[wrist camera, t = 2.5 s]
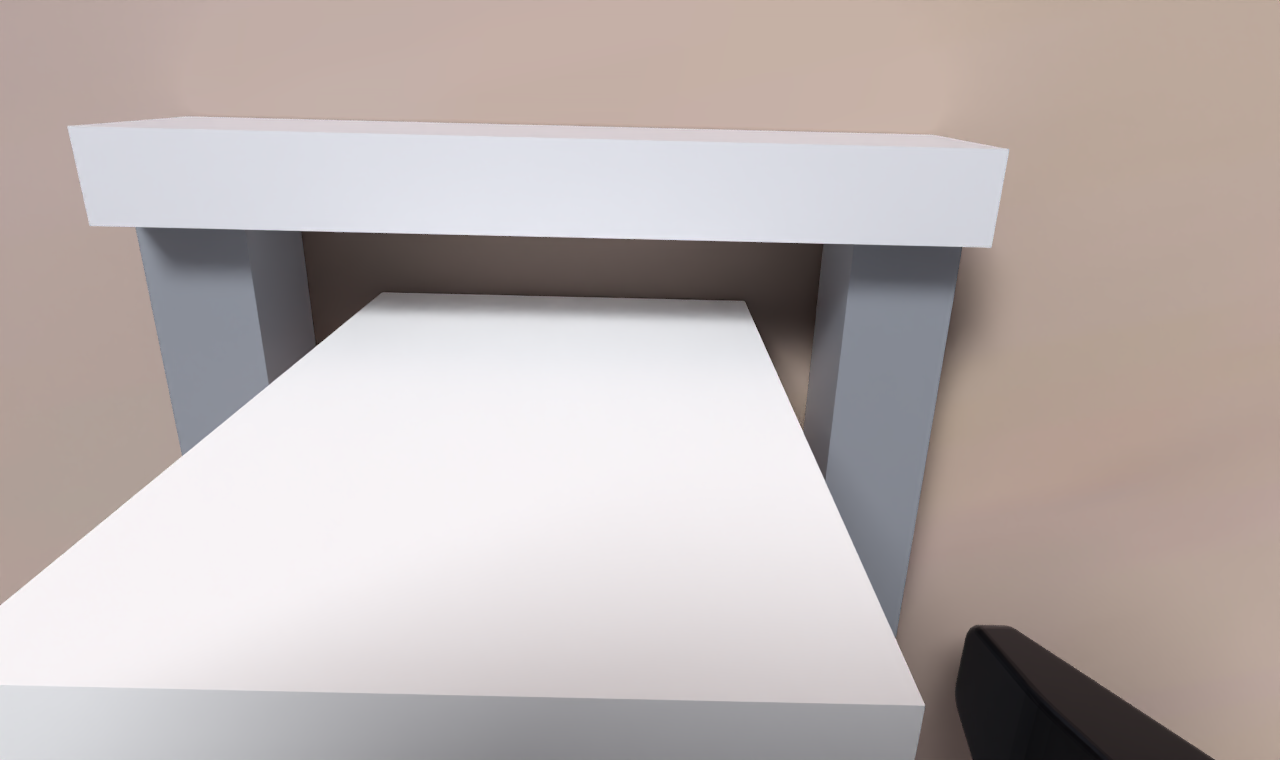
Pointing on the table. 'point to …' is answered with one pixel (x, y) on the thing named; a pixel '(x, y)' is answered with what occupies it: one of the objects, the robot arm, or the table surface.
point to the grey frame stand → (565, 207)
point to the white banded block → (475, 561)
